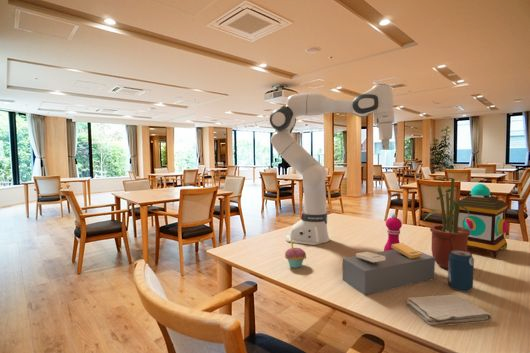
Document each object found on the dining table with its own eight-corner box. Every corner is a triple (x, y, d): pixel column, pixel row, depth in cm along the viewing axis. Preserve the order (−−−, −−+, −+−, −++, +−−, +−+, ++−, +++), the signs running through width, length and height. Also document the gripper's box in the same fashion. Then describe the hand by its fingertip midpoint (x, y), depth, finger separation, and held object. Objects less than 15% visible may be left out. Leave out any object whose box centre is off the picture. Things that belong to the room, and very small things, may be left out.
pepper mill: (401, 259, 123) (402, 212, 121) (403, 265, 116) (404, 216, 114) (383, 257, 125) (383, 211, 123) (384, 263, 118) (384, 215, 116)
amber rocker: (391, 247, 109) (391, 244, 109) (401, 245, 111) (402, 242, 111) (410, 258, 101) (410, 255, 101) (421, 256, 103) (421, 253, 102)
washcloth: (403, 305, 88) (403, 295, 88) (457, 300, 90) (458, 290, 90) (430, 329, 76) (431, 318, 76) (492, 322, 78) (493, 311, 78)
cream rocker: (356, 256, 104) (355, 253, 104) (367, 254, 106) (367, 251, 106) (373, 262, 95) (372, 258, 95) (385, 260, 97) (385, 256, 97)
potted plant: (473, 275, 106) (477, 179, 103) (425, 269, 112) (427, 178, 108) (460, 258, 123) (463, 175, 119) (418, 254, 128) (420, 174, 125)
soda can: (478, 290, 95) (479, 254, 94) (461, 293, 93) (463, 257, 92) (458, 281, 101) (459, 247, 100) (442, 284, 99) (443, 250, 98)
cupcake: (292, 271, 113) (291, 241, 112) (281, 264, 120) (280, 235, 119) (310, 267, 117) (310, 237, 116) (298, 260, 124) (298, 232, 123)
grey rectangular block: (342, 279, 105) (342, 256, 104) (407, 266, 115) (407, 245, 114) (364, 295, 93) (364, 269, 93) (434, 279, 104) (435, 255, 103)
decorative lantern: (511, 249, 131) (515, 183, 128) (499, 260, 119) (502, 187, 116) (460, 239, 147) (462, 180, 144) (444, 248, 134) (447, 183, 132)
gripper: (374, 121, 147) (376, 149, 148) (378, 119, 128) (380, 150, 129) (388, 120, 145) (390, 148, 147) (394, 117, 126) (396, 149, 127)
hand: (385, 149), depth 138 cm, fingers open, 8 cm apart
